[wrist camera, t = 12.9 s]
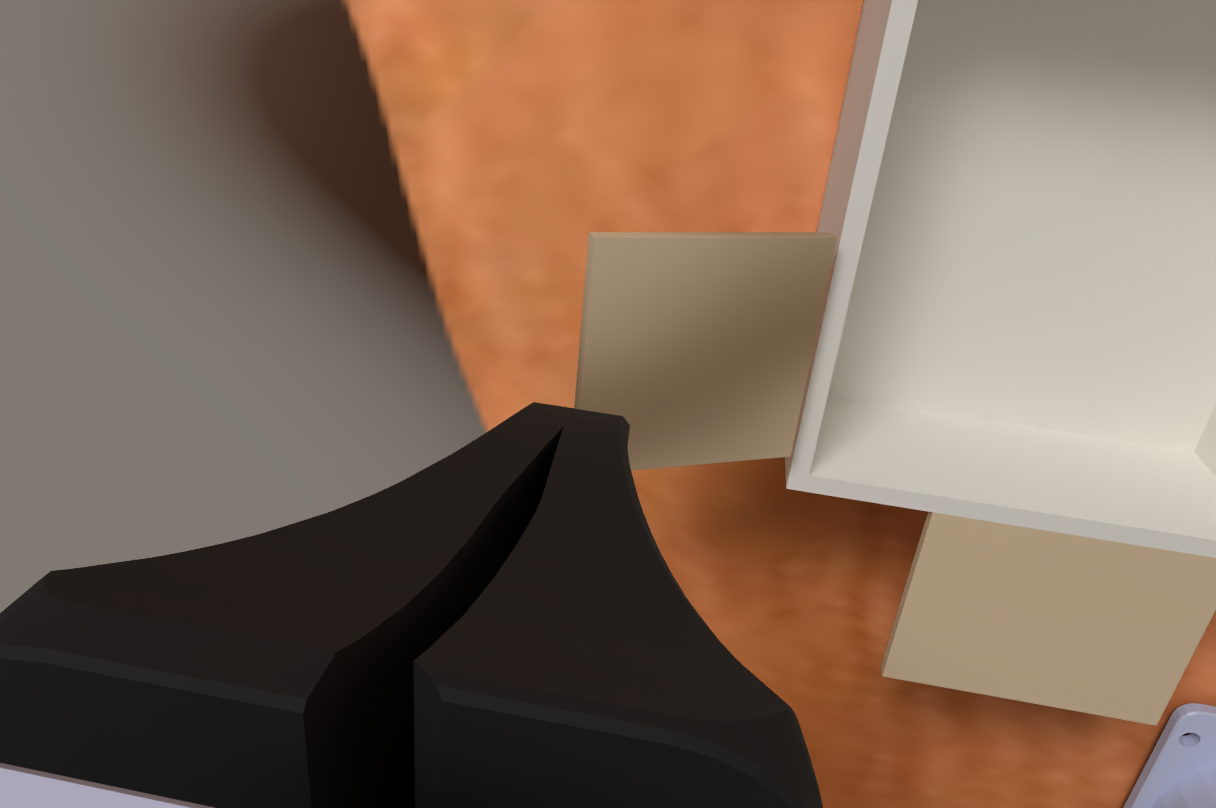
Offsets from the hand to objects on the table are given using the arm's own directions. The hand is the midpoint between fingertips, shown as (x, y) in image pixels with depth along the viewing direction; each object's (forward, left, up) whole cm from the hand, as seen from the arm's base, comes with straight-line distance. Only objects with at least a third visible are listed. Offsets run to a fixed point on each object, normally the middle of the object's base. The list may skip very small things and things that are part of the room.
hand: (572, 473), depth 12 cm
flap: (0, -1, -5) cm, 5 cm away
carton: (0, -11, -10) cm, 15 cm away
